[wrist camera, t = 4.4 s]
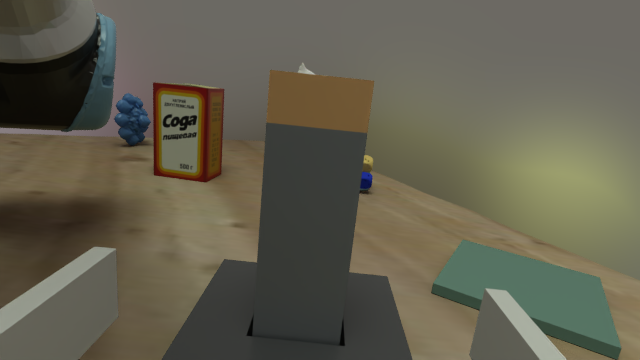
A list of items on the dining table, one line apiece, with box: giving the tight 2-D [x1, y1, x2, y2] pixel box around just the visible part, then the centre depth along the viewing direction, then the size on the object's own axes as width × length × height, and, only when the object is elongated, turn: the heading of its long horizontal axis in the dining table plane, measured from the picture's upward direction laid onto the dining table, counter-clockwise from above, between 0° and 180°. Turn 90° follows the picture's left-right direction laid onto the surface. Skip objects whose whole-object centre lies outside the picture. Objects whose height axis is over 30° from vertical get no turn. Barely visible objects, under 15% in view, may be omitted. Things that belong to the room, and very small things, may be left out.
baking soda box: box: [153, 83, 224, 182], centre depth 65 cm, size 10×6×16 cm
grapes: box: [115, 93, 151, 145], centre depth 86 cm, size 12×7×12 cm, turn 178°
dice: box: [360, 155, 373, 191], centre depth 68 cm, size 8×3×6 cm, turn 178°
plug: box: [252, 70, 374, 346], centre depth 22 cm, size 5×5×18 cm
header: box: [162, 259, 412, 360], centre depth 24 cm, size 13×12×4 cm
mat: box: [431, 240, 621, 359], centre depth 37 cm, size 14×14×1 cm
